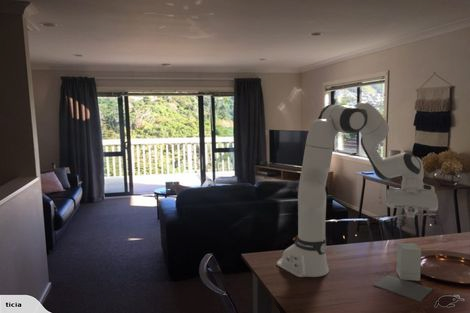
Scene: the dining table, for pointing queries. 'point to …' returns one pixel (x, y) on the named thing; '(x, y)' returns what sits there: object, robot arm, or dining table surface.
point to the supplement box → (408, 261)
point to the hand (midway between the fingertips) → (410, 216)
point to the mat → (403, 287)
